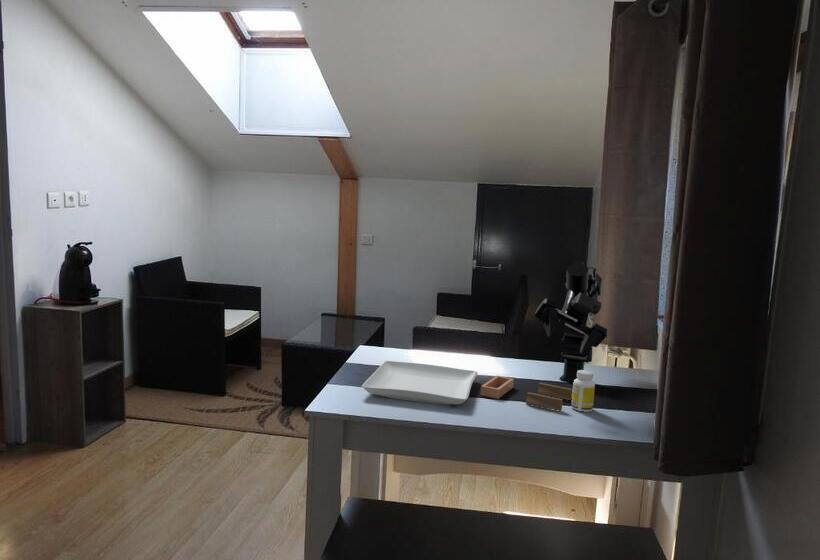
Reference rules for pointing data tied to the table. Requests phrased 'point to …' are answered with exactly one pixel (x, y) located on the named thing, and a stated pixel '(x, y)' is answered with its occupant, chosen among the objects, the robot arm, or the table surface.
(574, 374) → the robot arm
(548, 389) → the walled lane
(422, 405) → the table surface
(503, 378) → the trap pit
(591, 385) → the supplement bottle
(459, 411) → the table surface
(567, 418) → the table surface
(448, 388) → the square plate
